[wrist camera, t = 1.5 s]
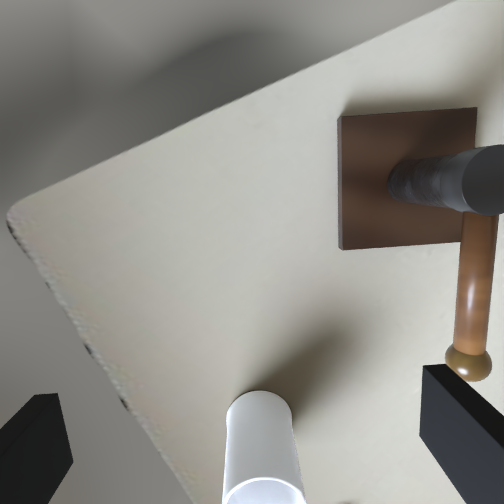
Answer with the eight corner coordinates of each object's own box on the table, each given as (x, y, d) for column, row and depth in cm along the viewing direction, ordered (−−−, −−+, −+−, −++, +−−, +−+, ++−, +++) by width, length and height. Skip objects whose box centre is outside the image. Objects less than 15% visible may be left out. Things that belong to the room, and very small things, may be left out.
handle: (439, 151, 24) (468, 146, 21) (501, 146, 24) (540, 141, 21) (426, 369, 28) (449, 392, 25) (480, 365, 28) (510, 388, 25)
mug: (304, 456, 43) (327, 560, 31) (244, 472, 43) (243, 580, 31) (282, 382, 40) (297, 464, 28) (218, 399, 40) (206, 488, 29)
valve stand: (337, 119, 34) (380, 89, 23) (467, 110, 34) (572, 75, 23) (338, 247, 37) (377, 274, 26) (458, 239, 37) (547, 262, 26)
